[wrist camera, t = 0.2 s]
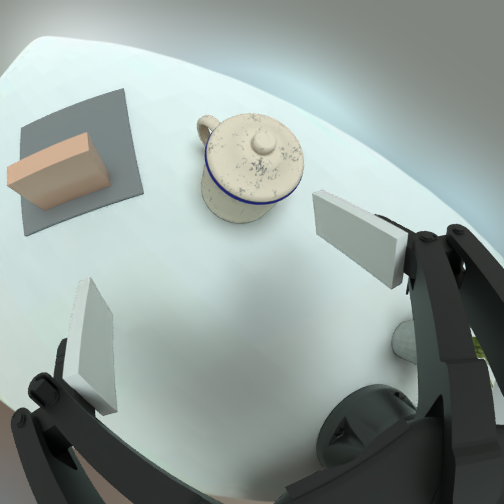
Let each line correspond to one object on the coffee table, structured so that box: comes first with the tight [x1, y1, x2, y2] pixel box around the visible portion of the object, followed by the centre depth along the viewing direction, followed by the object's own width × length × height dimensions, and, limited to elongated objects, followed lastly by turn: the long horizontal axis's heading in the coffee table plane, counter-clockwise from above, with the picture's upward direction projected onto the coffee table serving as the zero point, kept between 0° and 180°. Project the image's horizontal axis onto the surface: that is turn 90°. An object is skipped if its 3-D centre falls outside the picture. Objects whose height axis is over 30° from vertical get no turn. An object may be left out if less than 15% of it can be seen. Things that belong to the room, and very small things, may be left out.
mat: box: [20, 88, 144, 236], centre depth 28 cm, size 16×16×1 cm
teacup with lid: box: [197, 113, 304, 223], centre depth 27 cm, size 12×9×12 cm
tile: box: [7, 132, 111, 211], centre depth 23 cm, size 2×9×9 cm, turn 109°
